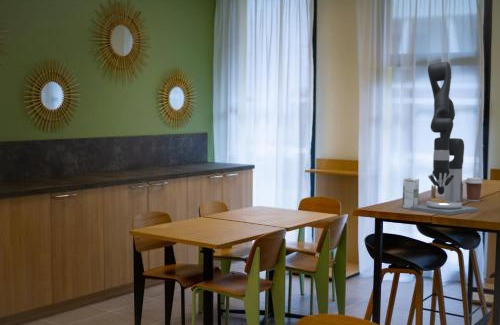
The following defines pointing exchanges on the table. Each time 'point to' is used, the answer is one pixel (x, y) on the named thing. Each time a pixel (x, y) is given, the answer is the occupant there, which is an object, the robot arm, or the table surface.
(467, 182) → the coffee cup
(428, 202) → the dial
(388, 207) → the table surface
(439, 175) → the robot arm
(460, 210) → the base
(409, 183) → the syrup box
